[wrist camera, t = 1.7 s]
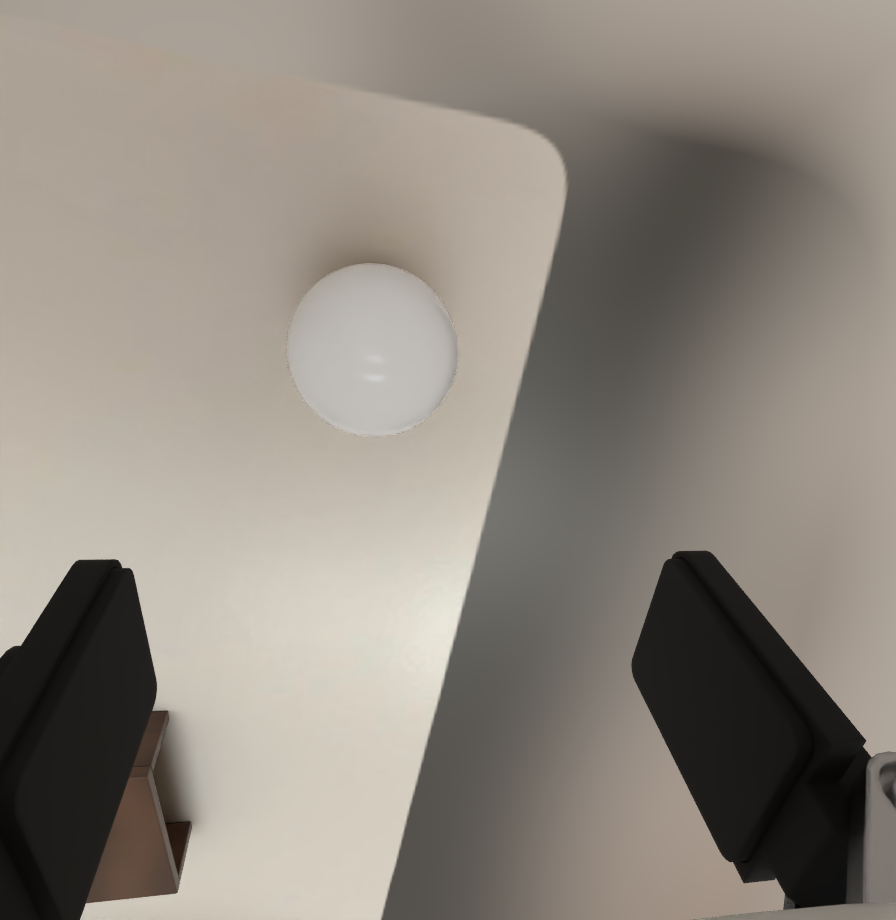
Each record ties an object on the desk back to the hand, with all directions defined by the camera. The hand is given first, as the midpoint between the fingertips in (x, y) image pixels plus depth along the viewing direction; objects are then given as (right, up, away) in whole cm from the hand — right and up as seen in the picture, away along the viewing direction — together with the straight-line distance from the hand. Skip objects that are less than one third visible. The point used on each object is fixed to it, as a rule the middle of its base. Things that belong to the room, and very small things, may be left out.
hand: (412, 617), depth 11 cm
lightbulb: (-3, +11, +19) cm, 22 cm away
